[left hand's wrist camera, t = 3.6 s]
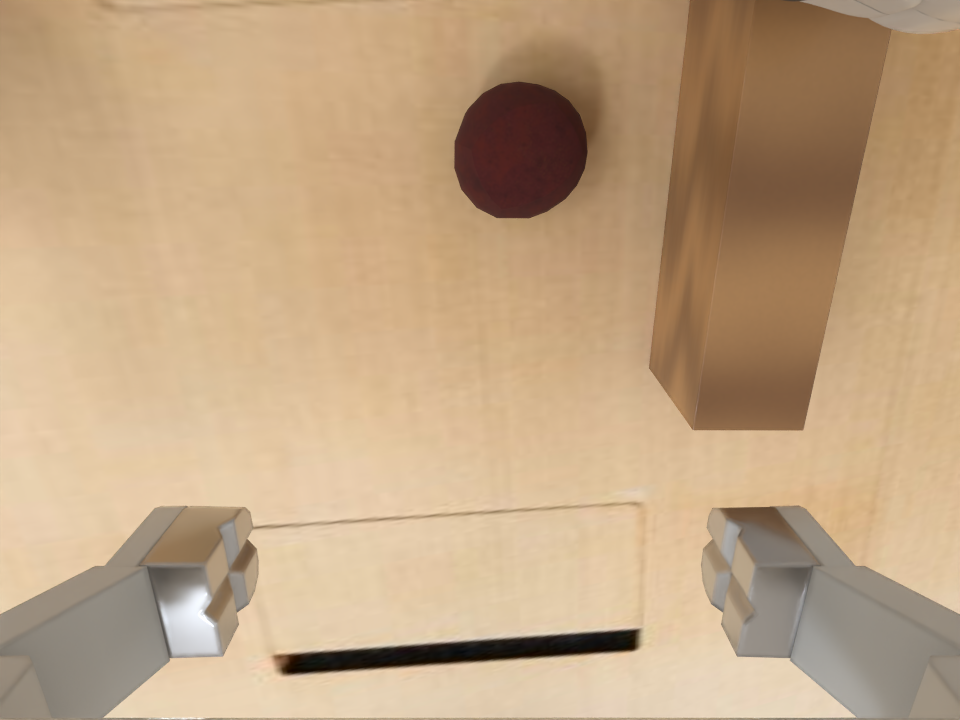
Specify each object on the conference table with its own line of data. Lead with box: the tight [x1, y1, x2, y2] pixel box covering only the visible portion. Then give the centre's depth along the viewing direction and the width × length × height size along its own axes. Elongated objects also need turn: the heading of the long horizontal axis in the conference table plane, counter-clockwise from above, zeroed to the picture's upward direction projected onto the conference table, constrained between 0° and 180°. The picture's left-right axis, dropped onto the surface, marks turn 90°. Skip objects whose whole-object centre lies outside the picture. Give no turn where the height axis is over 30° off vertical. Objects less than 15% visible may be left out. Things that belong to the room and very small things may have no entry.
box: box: [649, 0, 891, 430], centre depth 34 cm, size 27×6×10 cm, turn 0°
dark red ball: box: [454, 82, 587, 218], centre depth 34 cm, size 7×8×7 cm
